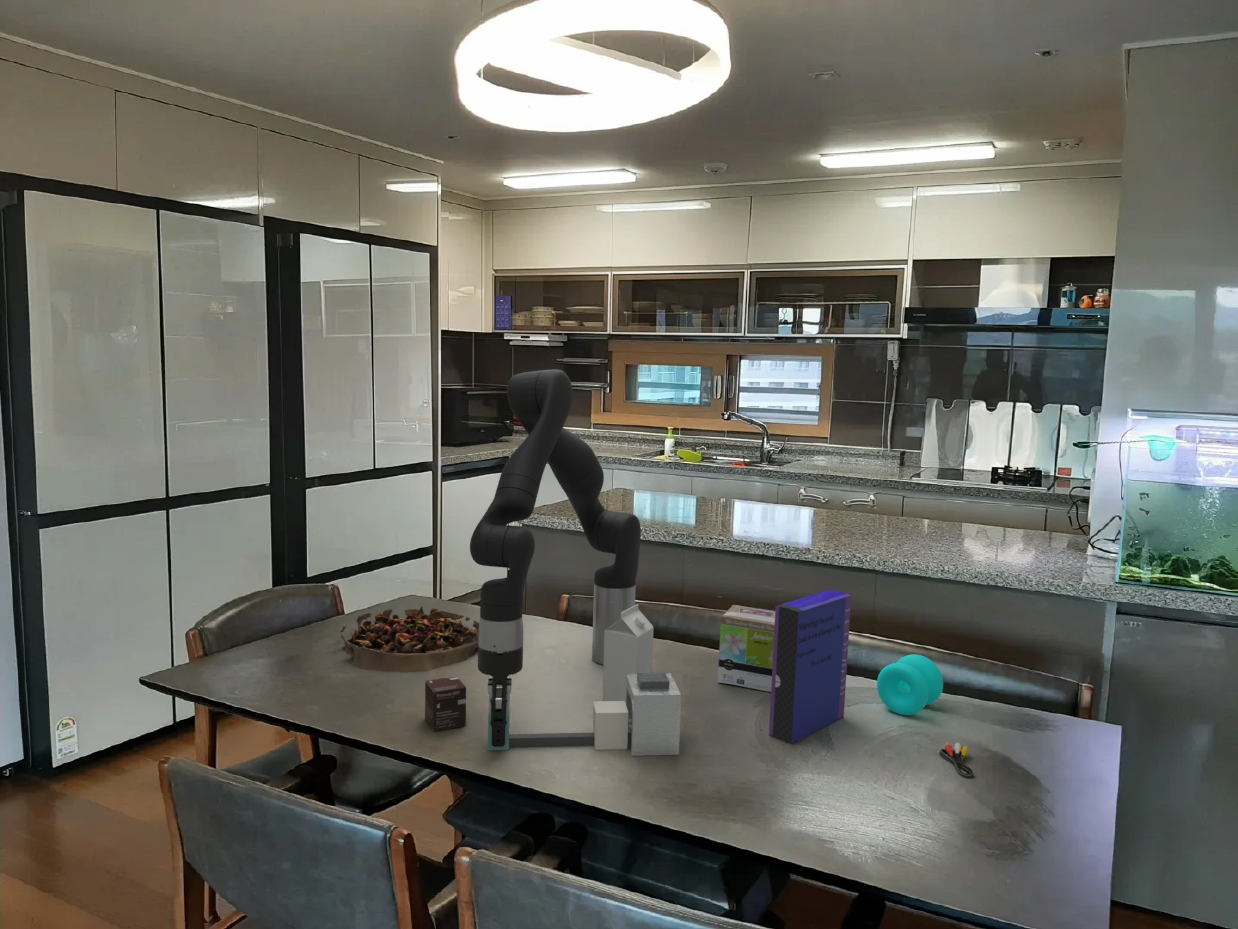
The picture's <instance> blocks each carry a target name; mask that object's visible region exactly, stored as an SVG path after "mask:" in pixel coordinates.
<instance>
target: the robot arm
mask: <svg viewBox="0 0 1238 929" xmlns="http://www.w3.org/2000/svg"><path fill="white" fill-rule="evenodd" d="M572 386H573V385H572V382H571V379H570V377H569V376H568V375H567V372H565V371H563V370H561V369H542V370H534V371H525V372H521V373H517V374H514V375H513V376H512V377H510V379H509V381H508V382H507V385H506V396H507V397H506V398H507V401H508V404H509V407H510V409H511V411H512V413H513V415H514V417H515V418H516V420H517V421H518V422H519V423H520V425H521V427H522V428H523V429H524V431H525V432H526V433H527V434H528V436H527V437H526V438H525V439H524V441H522V442H521V444H520V445H519V446H518V447H517V448H516V449H515V450H514V452H512V454H511V455H510V456H509V457H508V460H506V463H505V464H504V466H503V468H502V470H501V473H500V476H499V480H498V483H497V486H496V490H495V493H494V496H493V497H494V498H493V499H492V501H491V503H490V504H489V506H488V508H487V509H486V512H485V513H484V514H483V516H482V517H481V519H480V521H479V522H478V523H477V524H476V527H475V529H474V530H473V533H472V535H471V538H470V542H469V552H470V555H471V556H470V557H471V558H472V560H473V561H474V562H475V563H476V564H477V565H479V566H482V567H494V568H495V567H496V568H504V569H507V568H508V575H507V576H506V577H501V578H495V579H490V580H487V581H485V582H484V583H483V584H481V587H480V594H479V596H480V602H479V605H480V606H479V622H478V623H479V629H478V648H477V669H478V671H479V672H480V673H482V674H483V675H486V676H491V677H488V678H487V680H488V682H487V694H488V712H489V711H490V712H491V721H490V724H491V727H492V746H493V747H503V746H504V745H505V726H506V724H507V720H506V712H507V711H509V707H510V701H511V700H510V699H511V694H512V686H513V684H512V683H513V682H512V681H513V680H512V679H513V678H512V677H511V675H512V676H514V675H516V674H518V673H519V672H521V671H522V669H523V667H524V665H523V664H524V663H523V662H524V660H523V659H524V622H523V600H524V599H523V598H524V597H523V596H524V589H525V584H526V579H527V575H528V572H529V569H530V566H531V563H532V560H533V556H534V553H535V548H536V541H535V537H534V535H533V533H532V532H531V530H530V529H529V528H527V527H526V526H522V525H512V523H515V522H520V521H521V522H522V521H524V520H528V519H529V518H530V517H531V516H532V515H533V512H534V510H535V505H536V502H537V497H538V494H539V490H540V485H541V482H542V479H543V475H544V472H545V469H546V466H547V464H548V465H549V467H550V469H551V472H552V473H553V475H554V478H556V480H557V482H558V484H559V486H560V487H561V489H562V490H563V492H564V493H565V495H566V496H567V498H568V501H569V502H570V504H571V506H572V508H573V510H574V512H575V513H576V516H577V519H578V521H579V523H580V525H581V527H582V530H583V533H584V536H585V537H586V539H587V542H588V543H589V545H590V546H591V547H592V548H593V549H594V550H596V551H597V552H601V553H605V554H607V553H608V554H613V555H615V558H614V563H613V564H611V565H607V566H603V567H600V568H598V569H596V571H595V572H594V576H593V610H592V611H593V614H592V615H593V616H592V641H591V642H592V643H591V646H592V648H591V658H592V659H591V660H592V661H593V662H595V663H598V664H599V665H603V666H604V632H605V630H606V629H607V628H608V627H610V626H611V625H612V624H614V623H615V622H616V621H618V620H619V619H620V618H621V612H623V611H625V610H627V609H629V608H631V607H633V606H635V605H636V586H637V585H636V581H637V574H638V570H639V563H640V561H639V559H640V548H641V538H642V533H641V532H642V530H641V522H640V519H639V518H638V516H637V515H635V514H634V513H633V514H632V513H630V512H629V513H627V512H620V511H612V510H609V509H608V510H607V509H606V508H605V507H604V506H603V505H602V503H601V501H600V500H599V496H600V493H601V492H602V488H603V485H604V481H605V475H604V470H603V468H602V465H601V463H600V462H599V460H598V458H597V456H596V454H595V452H594V450H593V449H592V447H591V446H590V445H589V444H588V443H587V442H585V441H584V440H583V439H581V438H580V437H579V436H577V435H575V434H574V433H573V432H571V431H569V430H568V429H566V428H564V426H565V423H566V421H567V420H568V416H569V414H570V412H571V408H572V405H573V404H572V403H573V399H574V398H573V396H574V394H573V393H574V392H573V387H572ZM509 524H511V525H509ZM509 676H510V677H509ZM494 717H503V718H494Z"/></svg>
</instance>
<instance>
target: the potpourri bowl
mask: <svg viewBox="0 0 1238 929" xmlns="http://www.w3.org/2000/svg"><path fill="white" fill-rule="evenodd" d="M392 613H393V610H392V609H387V610H384V611H383V612H382V613H376V614H375V616H374V621H373V622H374V623H373V622H372V621H370V620H367V619H368V618H371V617H372V615H373V614H372V613H370V612H368V613H364V614H361V615H359V616H357V618H356V620H355V621H356V622H357V627H358V628H357V629H358V630H357V629H354V631H352V633H351V638H349V639H347V640H346V639H345V636H344V635H343V634H342V633H343V632H344V630H345V629H346V628H347V623H344V624H343V625H342V626H341V628H340V629H339V630H340V631H339V632H340V633H339V637H340V639H342V640H343V641H344V651H345V652H346V653H347V654H348V655H349V656H350V657H352V658H353V659H352V662H351V663H352V665H353V666H356V667H358V668H359V669H362V670H369V671H370V670H371V671H372V670H373V671H374V670H375V671H379V672H383V673H406V674H407V673H421V672H422V673H423V672H431V671H433V670H435V669H439V668H443V667H448V666H452V665H454V664H458V663H461V662H465V661H467V660H468V658H469V657H473V656H474V653H475V650H478V629H479V622H478V621H477V620H473V624H472V628H471V629H470V628H469V627H468V626H464V624H463V622H462V620H461V619H463V618H464V617H465V615H463V614H457V613H453V612H449V611H448V612H447V611H443V610H439V609H438V608H432V609H430V612H429V614H427V613H425V610H424V609H423V606H420V608H419V609H417V608H408V609H405V610H404V613H405V615H406V617H405V618H403V617H401V618H400V617H399V615H398V614H397V613H394V614H393V615H392ZM391 615H392V616H391ZM390 616H391V618H390ZM449 619H451V620H449ZM363 620H364V621H363ZM457 620H459V622H458V621H457ZM464 620H465V622H467V621H469V620H471V618H470V617H469V616H466V617H465V618H464ZM362 622H363V623H362Z"/></svg>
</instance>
